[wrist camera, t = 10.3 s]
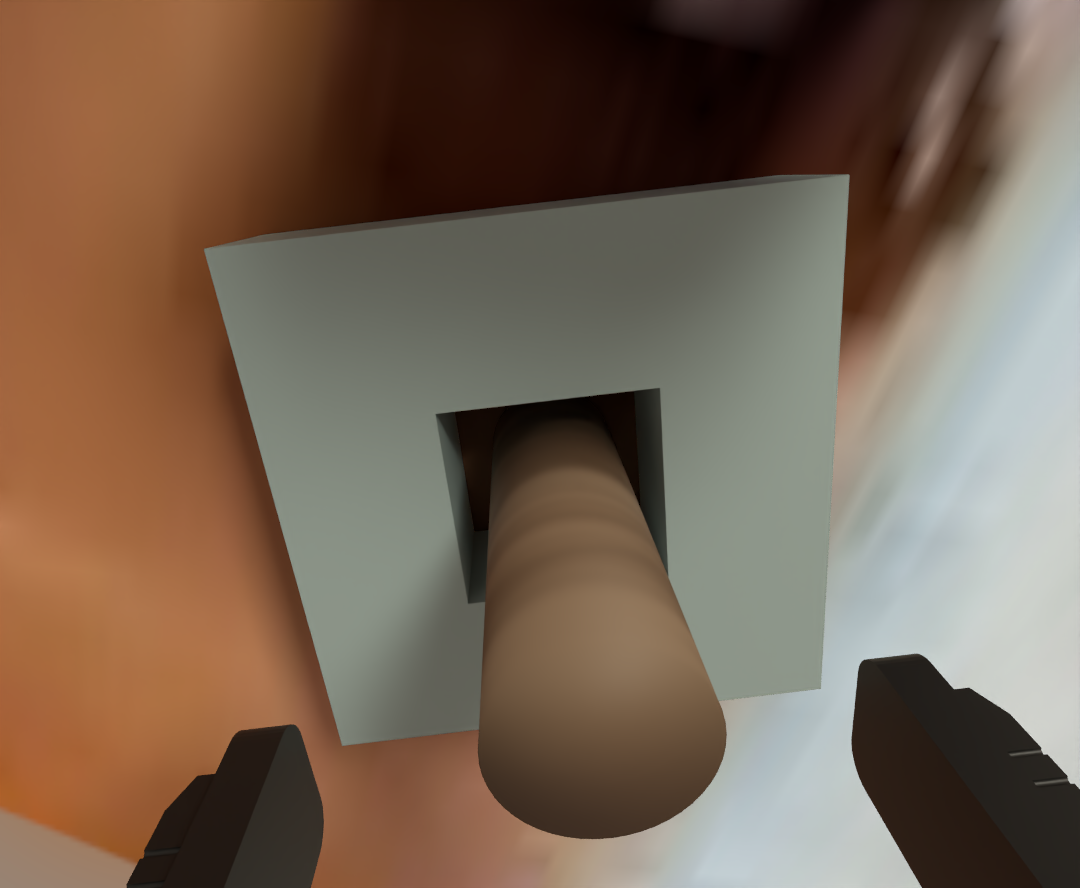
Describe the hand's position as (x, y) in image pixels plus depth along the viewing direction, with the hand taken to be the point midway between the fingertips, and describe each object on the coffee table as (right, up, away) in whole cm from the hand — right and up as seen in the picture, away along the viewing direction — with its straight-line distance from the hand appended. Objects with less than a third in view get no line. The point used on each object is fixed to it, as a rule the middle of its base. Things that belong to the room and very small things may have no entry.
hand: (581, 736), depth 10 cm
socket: (0, +4, +11) cm, 12 cm away
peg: (0, +4, +11) cm, 12 cm away
